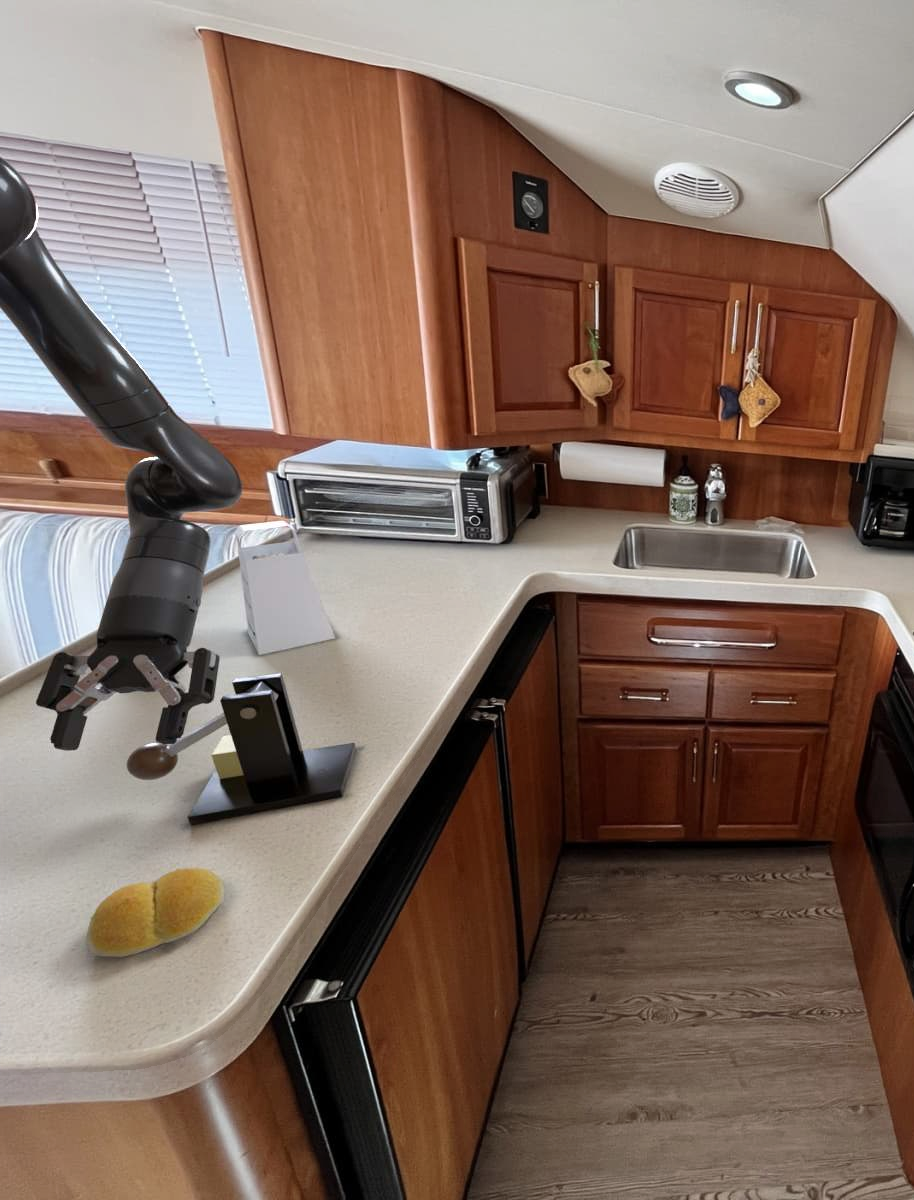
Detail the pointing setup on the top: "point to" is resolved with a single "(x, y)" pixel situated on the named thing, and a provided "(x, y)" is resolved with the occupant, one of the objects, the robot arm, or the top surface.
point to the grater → (280, 595)
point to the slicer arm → (174, 747)
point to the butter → (226, 759)
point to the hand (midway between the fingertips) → (116, 746)
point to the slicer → (270, 758)
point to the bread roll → (154, 912)
